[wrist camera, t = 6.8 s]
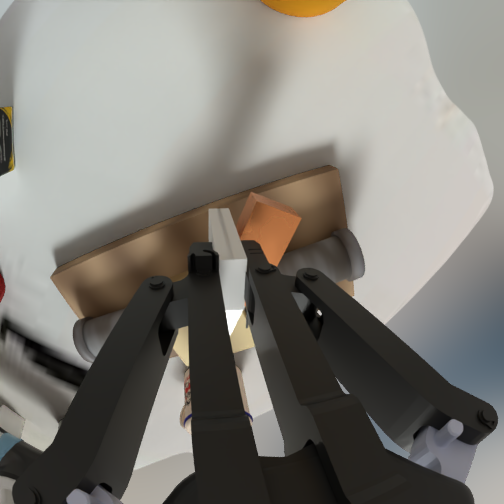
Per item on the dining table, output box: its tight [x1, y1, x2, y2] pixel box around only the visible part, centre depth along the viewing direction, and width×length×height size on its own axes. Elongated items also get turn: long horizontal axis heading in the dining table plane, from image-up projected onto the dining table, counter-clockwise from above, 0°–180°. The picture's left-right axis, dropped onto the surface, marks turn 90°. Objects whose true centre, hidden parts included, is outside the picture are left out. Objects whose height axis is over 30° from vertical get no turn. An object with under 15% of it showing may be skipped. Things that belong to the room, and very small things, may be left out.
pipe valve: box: [50, 165, 365, 366], centre depth 26 cm, size 32×16×9 cm, turn 106°
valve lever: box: [226, 192, 302, 335], centre depth 19 cm, size 14×3×2 cm, turn 156°
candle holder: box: [0, 404, 25, 439], centre depth 33 cm, size 25×24×16 cm
